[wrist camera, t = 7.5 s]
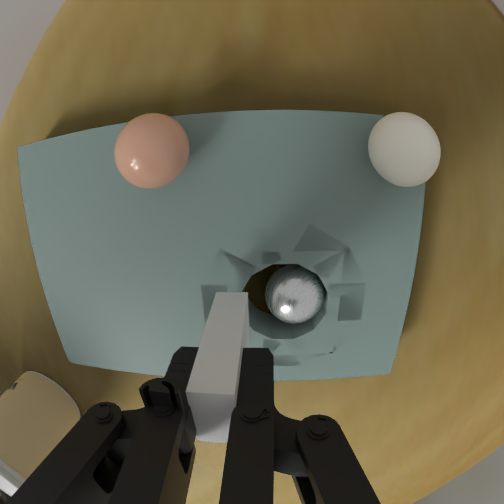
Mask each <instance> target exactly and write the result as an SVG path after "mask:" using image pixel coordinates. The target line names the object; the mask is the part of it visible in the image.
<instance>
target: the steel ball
mask: <svg viewBox="0 0 504 504" xmlns="http://www.w3.org/2000/svg"><path fill="white" fill-rule="evenodd" d="M265 299H266V303H267V306H268V308H269V310H270V311H271V312H272V314H273V315H274V316H276V317H277V318H278V319H280V320H282V321H284V322H287V323H302V322H305V321H307V320H309V319H311V318H312V317H314V316H315V315H316V314H317V312H318V311H319V310H320V308H321V306H322V304H323V300H324V287H323V284H322V281H321V279H320V278H319V276H318V275H317V274H316V273H314V272H312V271H310V270H308V269H306V268H304V267H302V266H301V265H298V264H291V265H287V266H284V267H282V268H280V269H278V270H277V271H276V272H274V273H273V274H272V276H271V277H270V279H269V280H268V282H267V285H266V289H265Z"/></svg>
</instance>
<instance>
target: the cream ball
mask: <svg viewBox="0 0 504 504" xmlns="http://www.w3.org/2000/svg"><path fill="white" fill-rule="evenodd" d="M368 152H369V157H370V160H371V162H372V165H373V166H374V168H375V170H376V171H377V172H378V174H379V175H380V176H381V177H383V178H384V179H385V180H387V181H388V182H390V183H392V184H394V185H397V186H402V187H413V186H417V185H420V184H422V183H424V182H426V181H427V180H428V179H430V178H431V177H432V175H433V174H434V173H435V171H436V170H437V168H438V165H439V162H440V156H441V148H440V143H439V140H438V137H437V135H436V133H435V131H434V130H433V128H432V127H431V126H430V124H428V123H427V122H426V121H425V120H424V119H422V118H421V117H419V116H417V115H414V114H412V113H408V112H395V113H392V114H389V115H386V116H385V117H383V118H382V119H380V120H379V121H378V122H377V123H376V124H375V126H374V127H373V129H372V131H371V133H370V136H369V141H368Z"/></svg>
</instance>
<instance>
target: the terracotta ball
mask: <svg viewBox="0 0 504 504" xmlns="http://www.w3.org/2000/svg"><path fill="white" fill-rule="evenodd" d="M189 153H190V145H189V139H188V136H187V134H186V132H185V130H184V129H183V127H182V126H181V125H180V124H179V123H178V122H177V121H176V120H175V119H173V118H171V117H169V116H167V115H164V114H160V113H148V114H143V115H140V116H138V117H136V118H134V119H132V120H131V121H130V122H128V123H127V124H126V125H125V126H124V127H123V129H122V130H121V131H120V133H119V135H118V137H117V139H116V142H115V147H114V159H115V163H116V166H117V169H118V170H119V172H120V174H121V175H122V176H123V177H124V178H125V179H126V180H127V181H128V182H129V183H131V184H133V185H135V186H137V187H140V188H145V189H155V188H160V187H163V186H165V185H168V184H169V183H171V182H173V181H174V180H175V179H176V178H177V177H178V176H179V175H180V174H181V173H182V172H183V170H184V168H185V167H186V164H187V162H188V159H189Z"/></svg>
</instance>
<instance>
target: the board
mask: <svg viewBox="0 0 504 504" xmlns="http://www.w3.org/2000/svg"><path fill="white" fill-rule="evenodd" d="M385 116H386V115H377V114H367V113H354V112H339V111H318V110H248V111H226V112H211V113H198V114H187V115H177V116H169V117H171V118H173V119H175V120H176V121H177V122H178V123H179V124H180V125H181V126H182V127H183V129H184V130H185V132H186V134H187V136H188V139H189V145H190V153H189V159H188V162H187V164H186V167H185V168H184V170H183V172H182V173H181V174H180V175H179V176H178V177H177V178H176V179H175V180H174V181H173V182H171V183H169V184H168V185H165V186H163V187H160V188H155V189H145V188H140V187H137V186H135V185H133V184H131V183H129V182H128V181H127V180H126V179H125V178H124V177H123V176H122V175H121V174H120V172H119V170H118V169H117V166H116V163H115V159H114V147H115V142H116V139H117V137H118V135H119V133H120V131H121V130H122V129H123V127H124V126H125V125H126V124H127V123H128V122H126V123H120V124H114V125H108V126H103V127H98V128H93V129H88V130H83V131H79V132H74V133H70V134H65V135H61V136H57V137H53V138H49V139H45V140H42V141H38V142H34V143H31V144H27V145H24V146H20V147H17V151H18V162H19V172H20V181H21V188H22V195H23V202H24V208H25V214H26V219H27V225H28V230H29V235H30V239H31V244H32V248H33V253H34V257H35V261H36V265H37V269H38V272H39V276H40V280H41V283H42V287H43V290H44V293H45V297H46V300H47V303H48V306H49V309H50V312H51V315H52V318H53V321H54V324H55V327H56V329H57V332H58V335H59V338H60V340H61V343H62V345H63V348H64V350H65V353H66V355H67V358H68V360H69V363H74V364H80V365H85V366H91V367H97V368H103V369H110V370H117V371H124V372H132V373H140V374H149V375H158V376H165V374H166V372H167V369H168V367H169V364H170V361H171V359H172V356H173V354H174V353H175V352H176V351H177V350H178V349H179V348H180V347H181V346H186V347H199V346H200V342H201V339H202V336H203V333H204V329H205V326H206V323H207V320H208V317H209V313H210V310H211V307H212V304H213V301H214V297H215V294H216V292H245V290H244V287H245V285H246V284H247V282H248V280H249V279H250V277H251V276H252V275H253V274H255V273H257V272H259V271H261V270H263V269H265V268H266V267H268V266H270V265H272V264H299V265H301V266H302V267H304V268H306V269H308V270H310V271H312V272H314V273H316V274H317V275H318V276H319V277H320V279H321V281H322V284H323V287H324V300H323V304H322V306H321V308H320V310H319V311H318V312H317V314H316V315H315V316H314V317H312V318H311V319H309V320H307V321H305V322H302V323H287V322H284V321H282V320H280V319H278V318H277V317H276V316H274V315H270V314H268V313H266V312H264V311H262V310H260V309H258V308H256V307H255V306H254V305H253V303H252V302H251V301H250V299H249V298H248V310H249V335H250V341H249V348H269V350H270V351H271V353H272V354H273V356H274V381H295V380H321V379H337V378H351V377H363V376H373V375H382V374H390V372H391V369H392V366H393V362H394V359H395V355H396V352H397V348H398V344H399V341H400V337H401V333H402V329H403V325H404V320H405V316H406V312H407V307H408V303H409V298H410V293H411V288H412V283H413V278H414V272H415V266H416V260H417V254H418V247H419V240H420V233H421V225H422V216H423V207H424V196H425V183H426V182H424V183H422V184H420V185H417V186H413V187H402V186H397V185H394V184H392V183H390V182H388V181H387V180H385V179H384V178H383V177H381V176H380V175H379V174H378V172H377V171H376V170H375V168H374V166H373V165H372V162H371V160H370V157H369V152H368V141H369V136H370V133H371V131H372V129H373V127H374V126H375V124H376V123H377V122H378V121H379V120H380V119H382V118H383V117H385ZM426 122H427V121H426Z"/></svg>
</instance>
